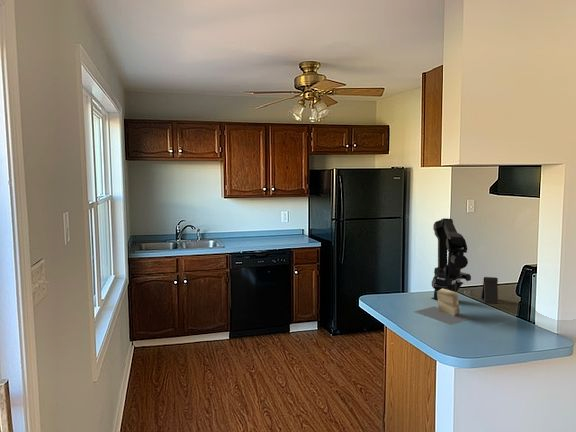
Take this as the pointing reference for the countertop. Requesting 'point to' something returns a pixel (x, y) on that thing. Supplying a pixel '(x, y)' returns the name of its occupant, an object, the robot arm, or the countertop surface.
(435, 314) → the mat
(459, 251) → the robot arm
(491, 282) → the phone stand
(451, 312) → the maple block
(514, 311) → the countertop surface
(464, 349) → the countertop surface
